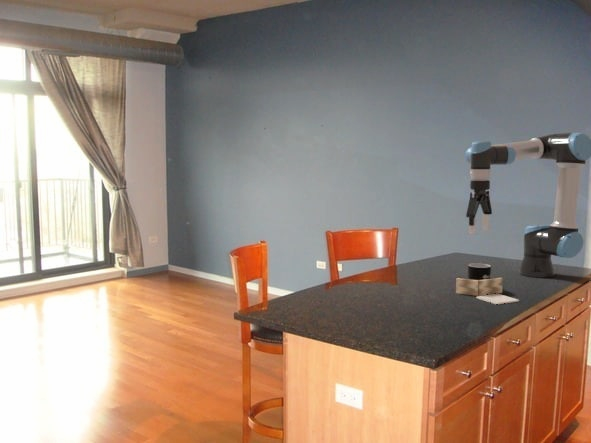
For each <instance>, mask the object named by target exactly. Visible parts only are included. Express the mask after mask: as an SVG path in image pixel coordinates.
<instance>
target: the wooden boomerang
mask: <svg viewBox="0 0 591 443" xmlns="http://www.w3.org/2000/svg"><path fill="white" fill-rule="evenodd" d="M503 286H504V285H503V277H495V278H490V279H484V280H470V279H469V278H459V277H457V278H456V281H455V294H459V295H468V296H469V295H470V296H476V297H477V296H484V295H487V294H488V295H492V294H495V293H496V294H502V293H503Z"/></svg>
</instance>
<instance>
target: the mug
mask: <svg viewBox="0 0 591 443" xmlns="http://www.w3.org/2000/svg"><path fill="white" fill-rule="evenodd" d="M491 270H492V266H491V265H490V264H487V263H479V262H478V263H476V262H474V263H469V264H468V265H467V271H468V273H467V277H468V279H470V280H484V279H491V272H492V271H491Z"/></svg>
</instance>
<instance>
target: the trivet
mask: <svg viewBox="0 0 591 443" xmlns="http://www.w3.org/2000/svg"><path fill="white" fill-rule="evenodd" d="M476 299H478V300H481V301H485V302H487V303H490V302H491V304H493V305H496V304H498V305H504V303H505V304H510V303H511V304H512V303H516V302H520V300H519V299H518V298H514V297H510V296H507V295H503V294H502V293H496V294H488V295H481V296H476Z"/></svg>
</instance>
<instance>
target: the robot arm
mask: <svg viewBox="0 0 591 443" xmlns="http://www.w3.org/2000/svg"><path fill="white" fill-rule="evenodd" d="M530 158H531V159H533V160H538V159H540V160H553V161H554V160H555V164H556V165H557V167H558V178H557V187H556V194H555V197H556V198H555V205H554V216H553V222H552V223H551V224H539V225H538V224H537V225H527V226H526V227H525V228H524V234H523V235H524V237H523V258H522V261H521V264H520V267H519V269H518V270H519V271H518V273H519V275H520V276H521V275H522V276H525V277H532V278H552V277H555V269H554V266H553V262H552V256H556V257H559V258H567V259H572V258H575V257H576V256H577V255H578V254H580V252H581V250H582V249H583V246H584V237H582V236H583V235H582V234H581V233H580V232H579V226H578V225H577V224H576V218H577V211H578V210H577V208H578V199H579V192H580V191H579V190H580V183H581V182H580V180H581V172H582V171H581V170H582V169H583V167H584V166H586V164H587V163H586V162H587V160H589V159H591V138H590V136H589V135H588V134H587V133H583V132H567V133H565V132H564V133H552V134H547V135H542V136H539V137H533V138H531V139H530V140H526V141H517V142H516V141H515V142H514V141H513V142H508V143H507V142H506V143H499V144H497V143H496V144H492V142H491V141H490V140H489V141H488V140H487V141H485V140H483V141H480V140H479V141H473V142H472V143H471V147H469V148H468V149H467V150H466V151H465V161H466V162H468V163H469V164H470V171H469V174H470V179H471V180H470V184H469V186H470V190H473V192H470V195H469V201H468V205H467V209H466V210H467V211H466V215H465V217H466V218H468V234H471V235H476V233H477V217H476V216H477V212H478V211H479V210H478V209H479V207H481V211H482V216H481V230H482V231H489V230H490V215H492V213H493V209H492V205H491V204H492V203H491V199H490V198H491V196H490V189H491V180H490V179H491V166H492V165H496V166H497V165H498V166H500V165H501V166H502V165H503V166H504V165H505V166H506V165H511V164H512V163H514V161H515V160H522V159H530Z"/></svg>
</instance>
